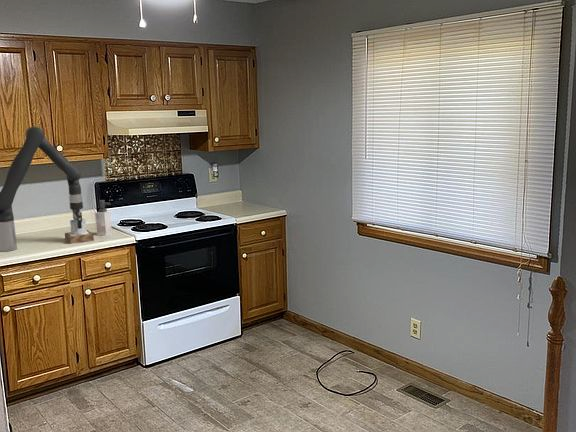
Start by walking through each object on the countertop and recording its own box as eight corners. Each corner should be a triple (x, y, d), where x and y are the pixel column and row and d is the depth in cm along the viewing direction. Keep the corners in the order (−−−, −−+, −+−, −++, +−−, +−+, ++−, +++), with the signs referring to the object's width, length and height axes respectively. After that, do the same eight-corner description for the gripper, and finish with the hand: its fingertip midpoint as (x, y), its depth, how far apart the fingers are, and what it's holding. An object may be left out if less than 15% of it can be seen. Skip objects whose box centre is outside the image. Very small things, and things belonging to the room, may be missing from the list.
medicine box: (83, 231, 360) (81, 218, 359) (86, 232, 357) (85, 219, 356) (71, 234, 355) (69, 220, 353) (74, 235, 352) (73, 221, 350)
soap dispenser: (109, 235, 367) (106, 201, 363) (97, 235, 370) (94, 201, 365) (115, 233, 373) (112, 199, 369) (103, 232, 376) (100, 199, 371)
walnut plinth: (70, 243, 348) (69, 237, 347) (65, 239, 359) (64, 232, 359) (93, 240, 355) (93, 233, 354) (88, 236, 367) (87, 229, 366)
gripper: (67, 200, 356) (69, 225, 360) (72, 203, 344) (74, 230, 348) (79, 199, 360) (81, 224, 363) (85, 202, 348) (87, 228, 352)
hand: (78, 227), depth 356 cm, fingers open, 8 cm apart
